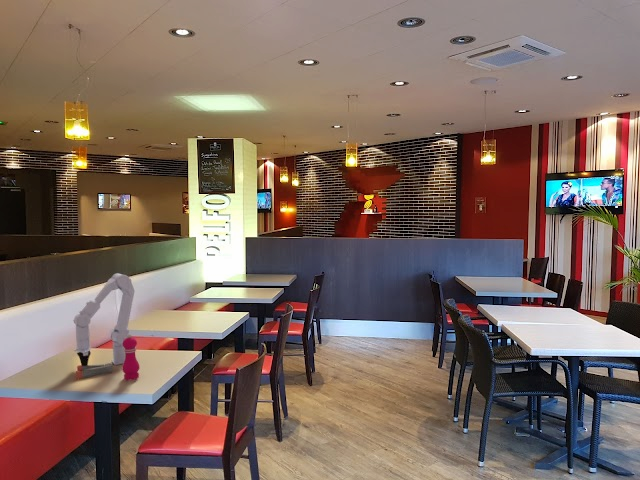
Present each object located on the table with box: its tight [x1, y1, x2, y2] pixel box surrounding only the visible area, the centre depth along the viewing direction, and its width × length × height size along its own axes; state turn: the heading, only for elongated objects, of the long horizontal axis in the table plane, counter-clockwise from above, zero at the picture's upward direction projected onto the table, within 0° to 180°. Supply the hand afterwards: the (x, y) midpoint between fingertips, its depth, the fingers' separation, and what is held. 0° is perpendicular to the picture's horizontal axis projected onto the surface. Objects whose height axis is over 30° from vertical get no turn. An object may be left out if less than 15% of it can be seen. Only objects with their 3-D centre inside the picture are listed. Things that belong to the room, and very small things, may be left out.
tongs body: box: [75, 362, 113, 380], centre depth 227 cm, size 16×5×3 cm, turn 123°
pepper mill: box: [122, 333, 140, 381], centre depth 221 cm, size 7×7×20 cm
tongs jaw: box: [76, 364, 105, 371], centre depth 231 cm, size 12×2×3 cm, turn 93°
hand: (84, 366), depth 234 cm, fingers closed
